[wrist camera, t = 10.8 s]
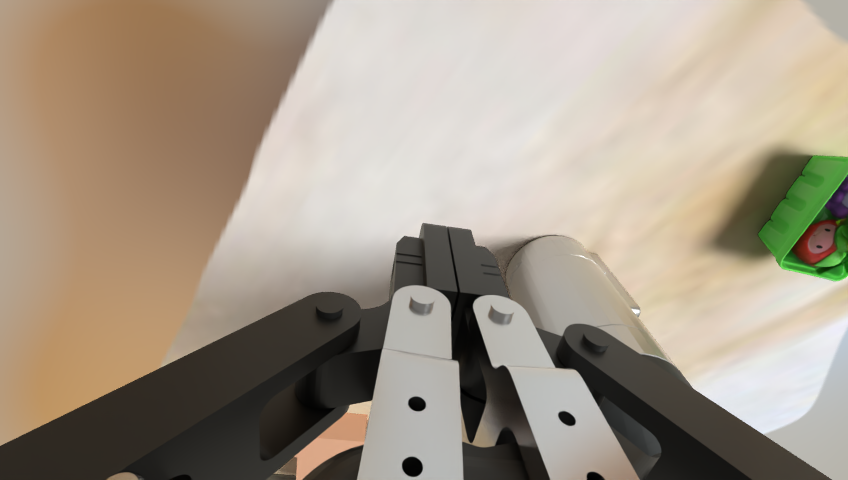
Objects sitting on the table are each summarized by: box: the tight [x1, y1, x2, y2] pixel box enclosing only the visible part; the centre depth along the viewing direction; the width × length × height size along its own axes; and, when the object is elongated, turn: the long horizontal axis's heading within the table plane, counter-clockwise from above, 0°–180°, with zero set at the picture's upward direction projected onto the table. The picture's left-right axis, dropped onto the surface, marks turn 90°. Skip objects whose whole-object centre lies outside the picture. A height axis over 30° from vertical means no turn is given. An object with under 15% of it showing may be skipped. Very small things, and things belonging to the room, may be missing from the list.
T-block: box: [294, 413, 367, 480], centre depth 55 cm, size 12×12×4 cm
